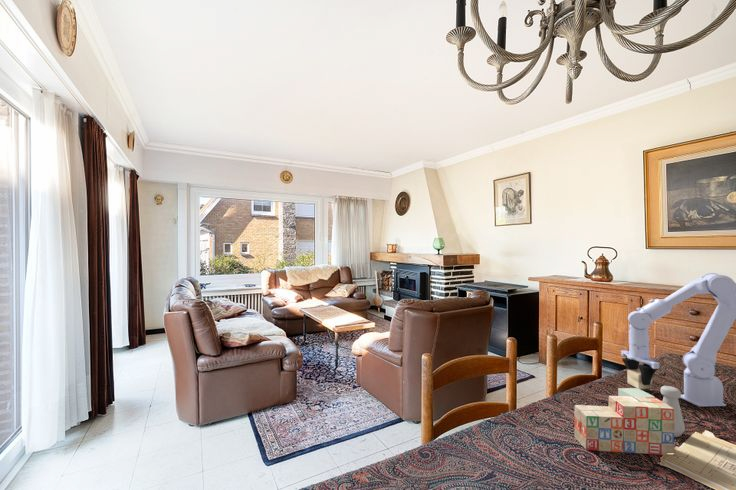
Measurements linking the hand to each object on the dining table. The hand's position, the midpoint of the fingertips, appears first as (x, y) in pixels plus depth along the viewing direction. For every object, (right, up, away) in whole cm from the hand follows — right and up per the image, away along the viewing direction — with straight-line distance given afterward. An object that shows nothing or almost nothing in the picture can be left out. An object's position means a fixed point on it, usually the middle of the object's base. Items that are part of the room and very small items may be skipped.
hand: (639, 381), depth 123 cm
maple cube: (0, -2, 0) cm, 2 cm away
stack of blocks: (-32, -4, -33) cm, 46 cm away
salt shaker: (-13, -4, -27) cm, 31 cm away
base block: (-8, -4, -8) cm, 12 cm away
